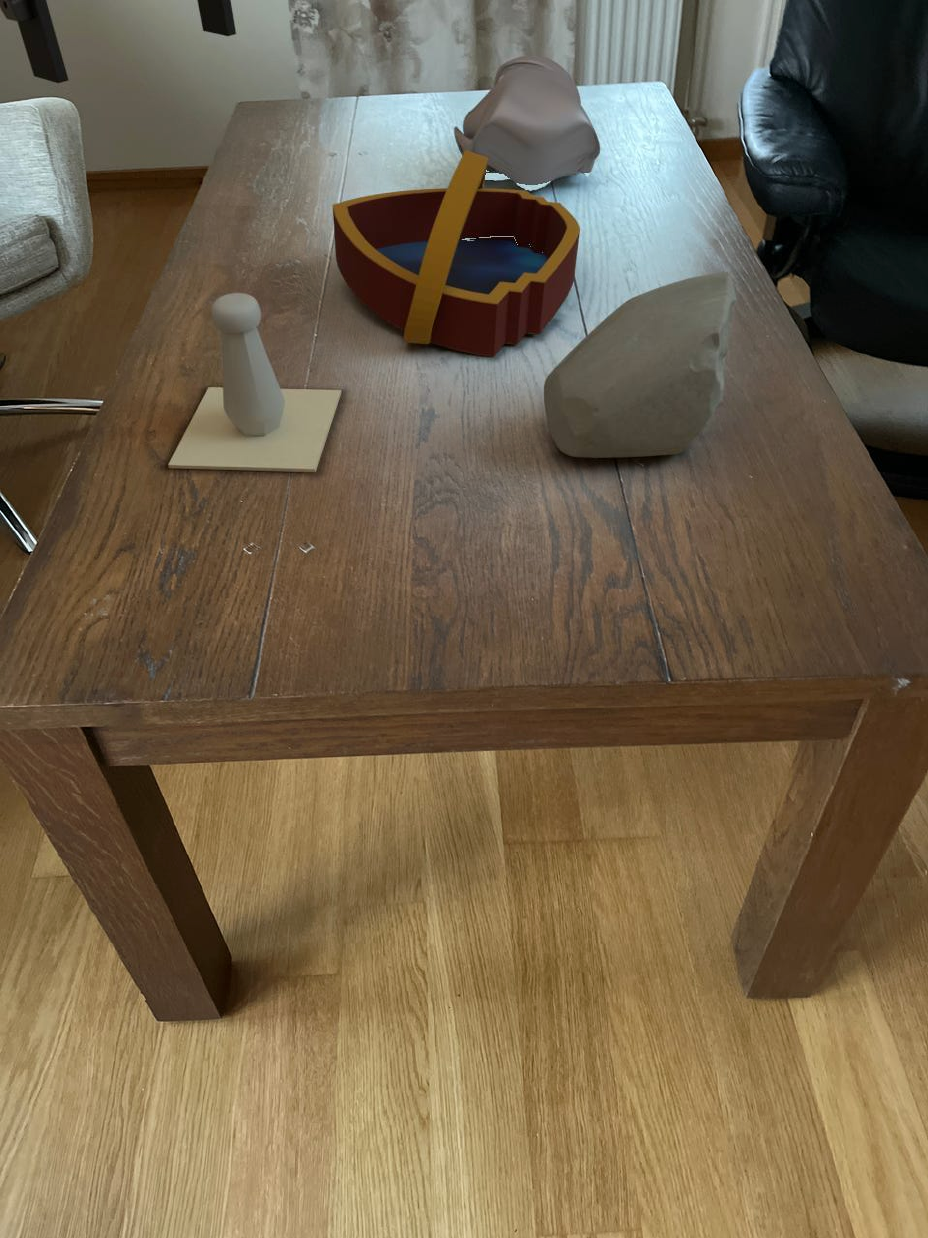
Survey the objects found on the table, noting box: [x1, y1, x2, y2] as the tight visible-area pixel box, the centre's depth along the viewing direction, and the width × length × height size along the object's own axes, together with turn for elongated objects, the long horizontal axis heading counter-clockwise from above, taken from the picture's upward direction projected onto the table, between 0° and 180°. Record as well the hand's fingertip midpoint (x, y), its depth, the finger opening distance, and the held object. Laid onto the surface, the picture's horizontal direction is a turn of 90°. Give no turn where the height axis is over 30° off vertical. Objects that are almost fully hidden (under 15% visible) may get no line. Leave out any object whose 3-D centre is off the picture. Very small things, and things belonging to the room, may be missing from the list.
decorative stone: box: [543, 271, 737, 459], centre depth 86 cm, size 12×17×15 cm
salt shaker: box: [210, 292, 285, 436], centre depth 89 cm, size 6×6×13 cm
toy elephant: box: [453, 54, 601, 192], centre depth 135 cm, size 20×18×15 cm
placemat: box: [167, 386, 342, 473], centre depth 93 cm, size 14×14×1 cm
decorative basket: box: [332, 150, 581, 357], centre depth 109 cm, size 34×29×15 cm
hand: (140, 54), depth 63 cm, fingers open, 13 cm apart
